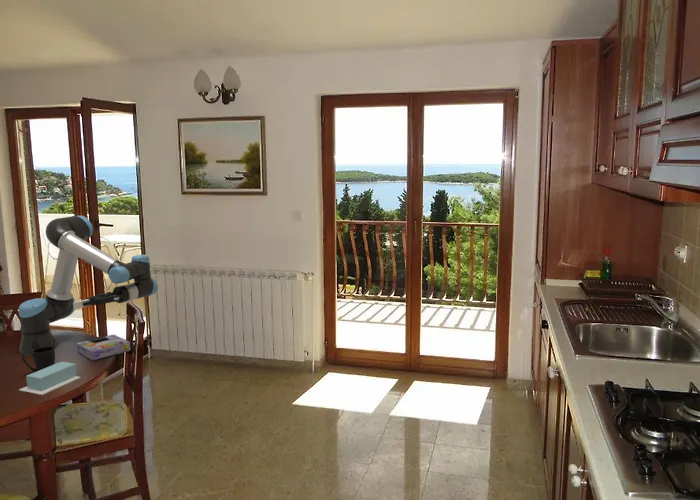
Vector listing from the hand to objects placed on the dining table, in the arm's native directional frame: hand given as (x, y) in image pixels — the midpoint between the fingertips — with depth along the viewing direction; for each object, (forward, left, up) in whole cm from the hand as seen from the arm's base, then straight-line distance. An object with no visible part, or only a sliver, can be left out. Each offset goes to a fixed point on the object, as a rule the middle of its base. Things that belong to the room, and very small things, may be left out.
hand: (74, 306), depth 228 cm
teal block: (0, -6, -25) cm, 26 cm away
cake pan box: (-13, +12, -25) cm, 31 cm away
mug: (-15, -8, -28) cm, 33 cm away
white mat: (+1, -15, -28) cm, 32 cm away
